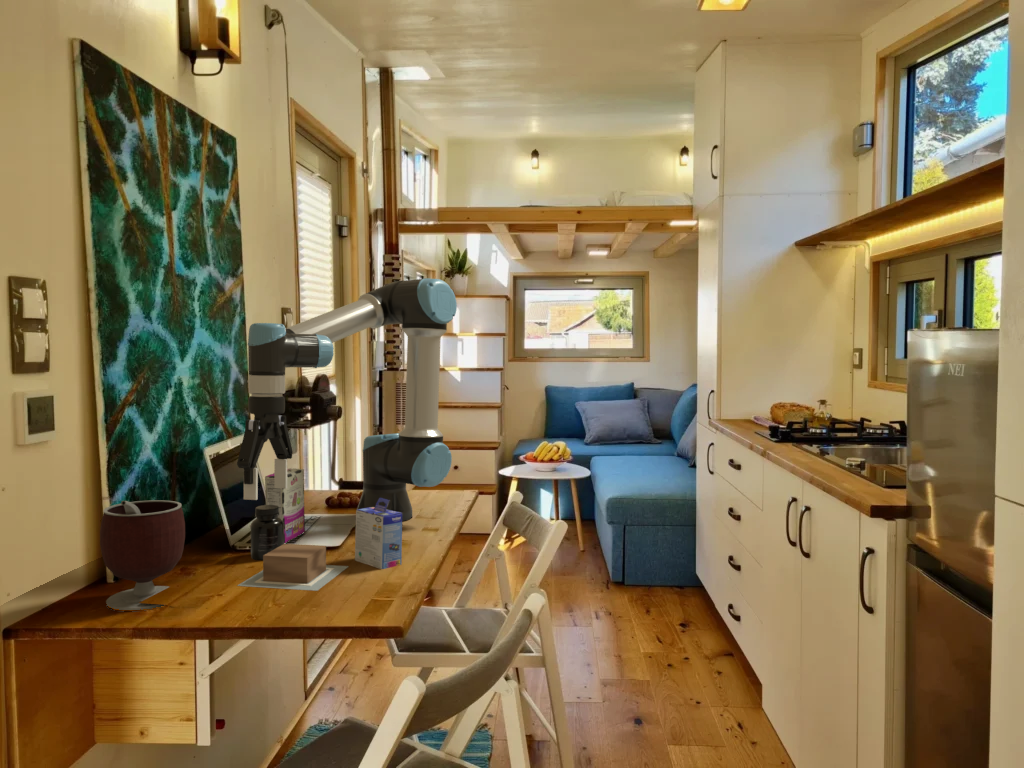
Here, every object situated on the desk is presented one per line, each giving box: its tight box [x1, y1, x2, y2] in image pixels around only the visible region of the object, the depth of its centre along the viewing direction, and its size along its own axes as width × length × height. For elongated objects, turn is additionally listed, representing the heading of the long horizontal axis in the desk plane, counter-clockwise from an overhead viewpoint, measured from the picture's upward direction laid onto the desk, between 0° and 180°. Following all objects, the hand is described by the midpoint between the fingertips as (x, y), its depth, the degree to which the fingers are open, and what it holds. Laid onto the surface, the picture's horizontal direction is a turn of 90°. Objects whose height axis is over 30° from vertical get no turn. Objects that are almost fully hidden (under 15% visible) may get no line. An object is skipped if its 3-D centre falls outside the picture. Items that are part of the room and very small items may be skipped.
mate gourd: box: [99, 499, 186, 610], centre depth 136 cm, size 16×14×20 cm
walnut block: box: [262, 543, 327, 584], centre depth 148 cm, size 9×9×5 cm
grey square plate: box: [236, 564, 349, 592], centre depth 148 cm, size 16×16×1 cm
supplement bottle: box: [250, 504, 284, 562], centre depth 162 cm, size 7×7×12 cm
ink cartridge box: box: [354, 498, 403, 570], centre depth 158 cm, size 10×6×14 cm, turn 47°
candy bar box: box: [264, 467, 306, 543], centre depth 181 cm, size 11×5×16 cm, turn 170°
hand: (266, 493), depth 161 cm, fingers open, 13 cm apart
